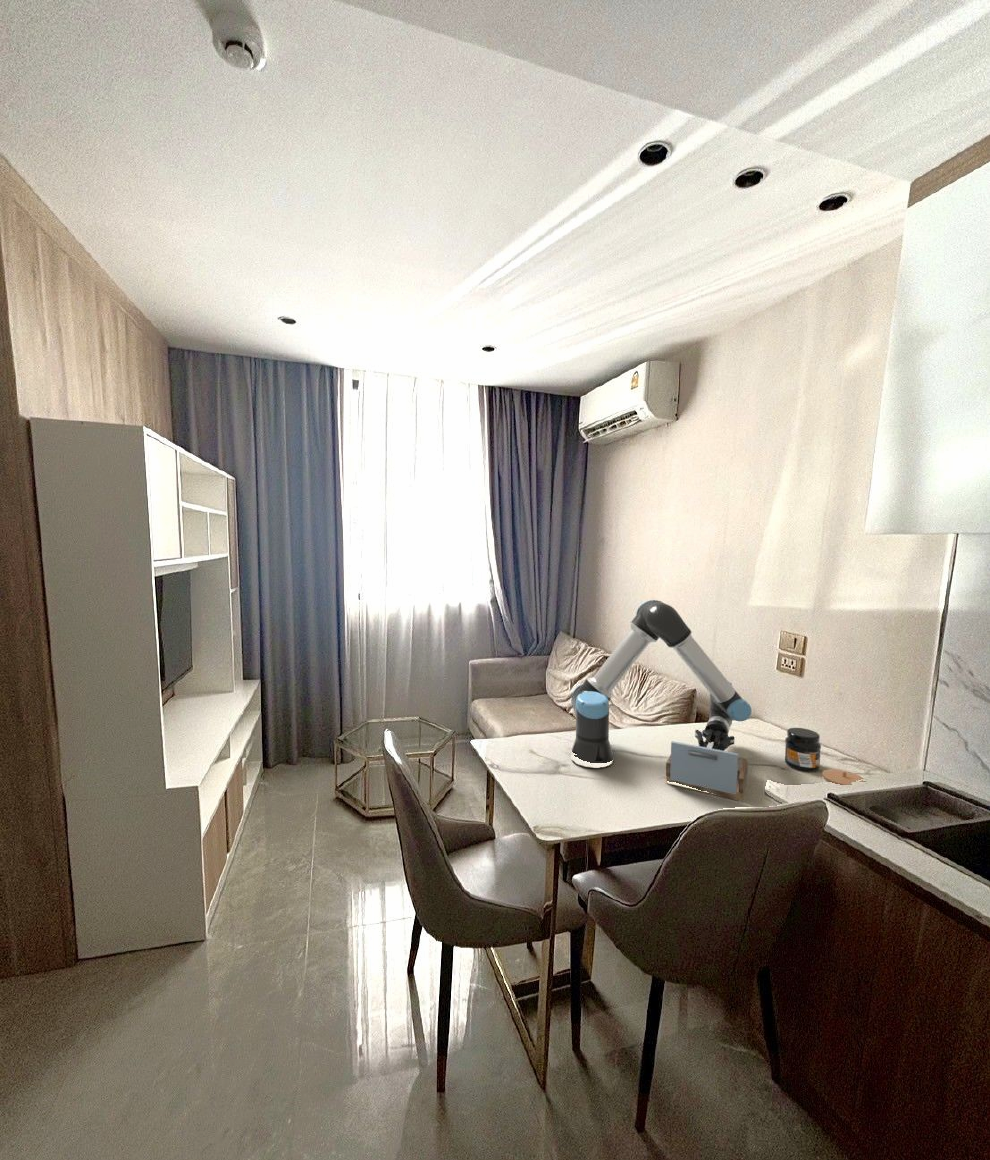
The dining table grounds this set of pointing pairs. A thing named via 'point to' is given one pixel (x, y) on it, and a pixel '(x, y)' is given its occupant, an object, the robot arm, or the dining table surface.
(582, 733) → the robot arm
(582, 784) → the dining table surface
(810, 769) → the supplement container
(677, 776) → the tailgate
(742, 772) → the cart bed
